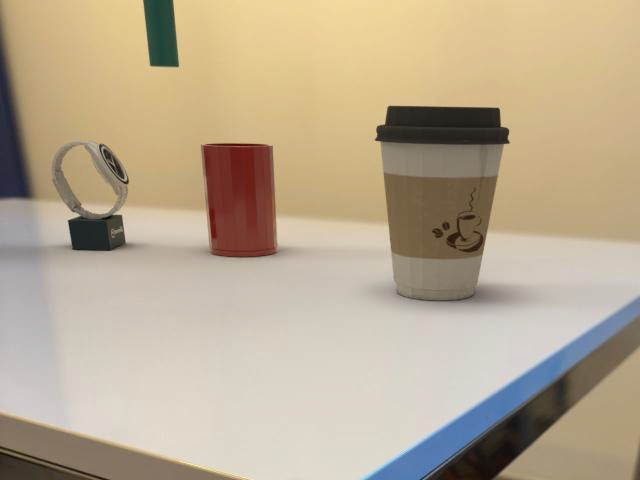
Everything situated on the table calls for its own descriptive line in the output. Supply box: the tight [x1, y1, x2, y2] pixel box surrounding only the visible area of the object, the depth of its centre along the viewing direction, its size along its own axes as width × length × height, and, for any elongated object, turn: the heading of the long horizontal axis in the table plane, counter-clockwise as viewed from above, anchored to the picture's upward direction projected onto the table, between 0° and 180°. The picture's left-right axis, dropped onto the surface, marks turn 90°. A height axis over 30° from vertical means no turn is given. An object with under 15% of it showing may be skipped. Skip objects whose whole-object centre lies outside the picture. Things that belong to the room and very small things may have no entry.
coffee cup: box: [374, 105, 511, 301], centre depth 68 cm, size 11×11×15 cm
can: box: [200, 142, 278, 258], centre depth 86 cm, size 8×8×11 cm
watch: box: [51, 140, 130, 251], centre depth 88 cm, size 6×8×11 cm
